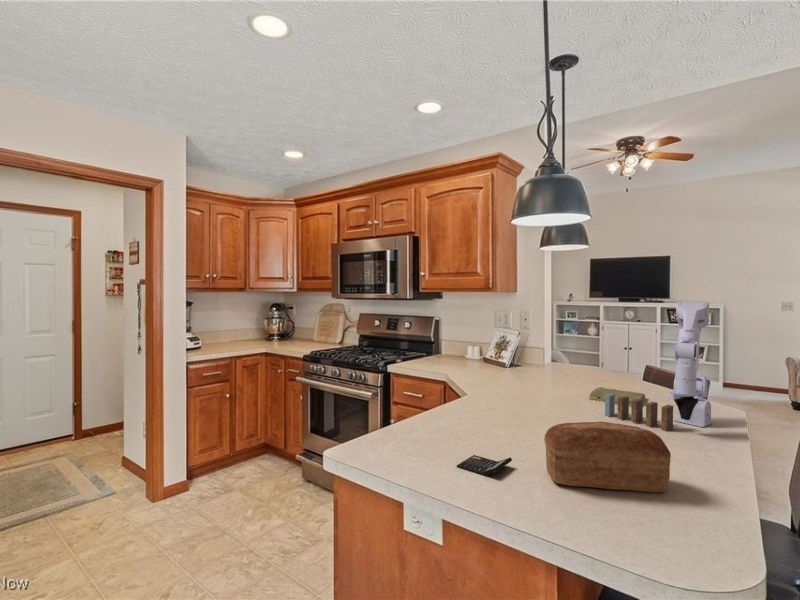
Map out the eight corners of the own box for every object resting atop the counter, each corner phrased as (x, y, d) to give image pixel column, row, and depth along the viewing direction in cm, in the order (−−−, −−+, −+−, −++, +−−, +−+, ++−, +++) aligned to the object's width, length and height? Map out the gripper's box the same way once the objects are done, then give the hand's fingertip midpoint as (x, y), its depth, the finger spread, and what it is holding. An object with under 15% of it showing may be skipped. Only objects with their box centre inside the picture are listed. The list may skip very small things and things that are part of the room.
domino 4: (657, 424, 148) (657, 402, 148) (650, 427, 145) (650, 404, 145) (652, 423, 149) (652, 401, 149) (645, 426, 146) (646, 403, 146)
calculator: (473, 457, 119) (473, 447, 119) (512, 468, 111) (512, 457, 111) (456, 468, 112) (456, 457, 111) (496, 480, 104) (496, 469, 104)
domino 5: (672, 428, 144) (673, 405, 143) (666, 431, 141) (666, 408, 141) (667, 427, 145) (668, 404, 145) (661, 430, 142) (661, 407, 142)
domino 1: (614, 414, 160) (614, 394, 160) (609, 417, 157) (609, 396, 157) (610, 413, 162) (610, 393, 161) (604, 416, 158) (605, 395, 158)
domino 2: (628, 418, 156) (628, 396, 156) (621, 420, 153) (622, 398, 153) (624, 417, 157) (624, 396, 157) (617, 419, 154) (617, 397, 154)
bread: (541, 468, 111) (541, 415, 111) (654, 476, 106) (655, 420, 106) (549, 489, 99) (549, 429, 99) (677, 499, 95) (678, 436, 94)
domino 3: (642, 421, 152) (642, 399, 152) (635, 423, 149) (636, 401, 149) (638, 420, 153) (638, 398, 153) (631, 422, 150) (631, 400, 150)
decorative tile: (596, 393, 197) (596, 385, 197) (645, 400, 184) (645, 392, 184) (586, 401, 182) (587, 393, 182) (639, 409, 170) (639, 400, 170)
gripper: (688, 374, 144) (688, 413, 145) (659, 377, 139) (658, 418, 139) (710, 378, 138) (709, 419, 138) (679, 382, 133) (679, 424, 133)
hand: (685, 419), depth 138 cm, fingers closed
